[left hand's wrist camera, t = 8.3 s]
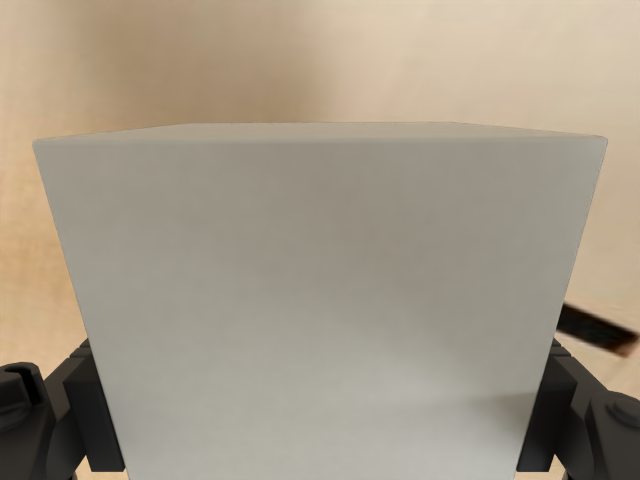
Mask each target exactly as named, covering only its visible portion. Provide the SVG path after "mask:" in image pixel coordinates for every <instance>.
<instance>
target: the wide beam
mask: <svg viewBox="0 0 640 480" xmlns="http://www.w3.org/2000/svg"><path fill="white" fill-rule="evenodd" d="M607 144H608V140H607V138H605V137H603V136H595V135H584V134H574V133H563V132H552V131H542V130H531V129H521V128H510V127H499V126H489V125H478V124H467V123H457V122H337V123H187V124H177V125H168V126H158V127H149V128H139V129H130V130H120V131H110V132H101V133H91V134H82V135H72V136H63V137H53V138H44V139H37V140H35V141H34V142H33V144H32V146H33V150H34V153H35V157H36V160H37V163H38V167H39V170H40V174H41V177H42V181H43V184H44V188H45V191H46V194H47V198H48V201H49V205H50V208H51V212H52V215H53V219H54V222H55V226H56V229H57V232H58V236H59V239H60V243H61V246H62V250H63V253H64V257H65V260H66V263H67V267H68V270H69V274H70V277H71V281H72V284H73V288H74V291H75V294H76V298H77V301H78V305H79V308H80V312H81V315H82V319H83V322H84V326H85V329H86V332H87V336H88V339H89V343H90V346H91V350H92V353H93V357H94V360H95V363H96V367H97V370H98V374H99V377H100V381H101V384H102V388H103V391H104V395H105V398H106V401H107V405H108V408H109V412H110V415H111V419H112V422H113V426H114V429H115V432H116V436H117V439H118V443H119V446H120V450H121V453H122V457H123V460H124V463H125V467H126V470H127V474H128V477H129V480H514V476H515V473H516V468H517V465H518V461H519V458H520V454H521V451H522V447H523V444H524V440H525V437H526V433H527V429H528V426H529V422H530V419H531V415H532V412H533V408H534V405H535V401H536V398H537V394H538V390H539V387H540V383H541V380H542V376H543V373H544V369H545V365H546V362H547V358H548V355H549V351H550V348H551V344H552V340H553V337H554V333H555V330H556V326H557V323H558V319H559V315H560V312H561V308H562V305H563V301H564V298H565V294H566V290H567V287H568V283H569V280H570V276H571V273H572V269H573V265H574V262H575V258H576V255H577V251H578V248H579V244H580V240H581V237H582V233H583V230H584V226H585V223H586V219H587V215H588V212H589V208H590V205H591V201H592V198H593V194H594V190H595V187H596V183H597V180H598V176H599V172H600V169H601V165H602V162H603V158H604V155H605V151H606V147H607Z"/></svg>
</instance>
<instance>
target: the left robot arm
mask: <svg viewBox="0 0 640 480" xmlns="http://www.w3.org/2000/svg"><path fill="white" fill-rule="evenodd" d="M554 454H555V455H556V456H557V458H558V459H559V460H560V462H561V463H562V465H563V466H564V468H565V472H564V475H563V478H562V480H640V401H639V400H638V399H636V398H633V397H631V396H628V395H625V394H623V393H619V392H613V391H608V390H607V389H606V388H605V387H604V386H603V385H602V384H601V383H600V382H599V381H598V380H597V379H596V378H595V377H594V376H593V375H592V374H591V373H590V372H589V371H588V370H587V369H586V368H585V367H584V366H583V365H582V364H581V363H580V362H579V361H577V360H576V359H575V358H574V357H571V354H570V353H569V352H568V351H567V350H566V349H565V348H564V347H561V344H560V343H559V342H558V341H557V340H556V339H555V338H554V337H553V340H552V344H551V348H550V351H549V355H548V358H547V362H546V365H545V369H544V373H543V376H542V380H541V383H540V387H539V390H538V394H537V398H536V401H535V405H534V408H533V412H532V415H531V419H530V422H529V426H528V429H527V433H526V437H525V440H524V444H523V447H522V451H521V454H520V458H519V461H518V465H517V468H516V470H517V472H549V469H550V466H551V463H552V460H553V457H554ZM85 455H86V456H87V459H88V462H89V465H90V468H91V471H92V472H123V471H124V469H125V463H124V460H123V457H122V453H121V450H120V446H119V443H118V439H117V436H116V432H115V429H114V426H113V422H112V419H111V415H110V412H109V408H108V405H107V401H106V398H105V395H104V391H103V388H102V384H101V381H100V377H99V374H98V370H97V367H96V363H95V360H94V357H93V353H92V350H91V346H90V343H89V339H88V338H87V339H86V340H85V341H84V342H83V343H82V344H81V345H80V347H79V348H77V349H76V350H75V351H74V352H73V353H72V354H71V355H70V357H69V358H67V359H65V360H64V361H63V362H62V363H61V364H60V365H59V366H58V367H57V368H56V369H55V370H54V371H53V372H52V373H51V374H50V375H49V376H48V377H47V378H46V379H45V380H44V381H43V379H42V376H41V373H40V370H39V367H38V366H37V365H35V364H33V363H29V362H18V363H12V364H7V365H4V366H1V367H0V480H78V479H77V475H76V472H75V470H76V469H77V467H78V466H79V464H80V463H81V461H82V460H83V458H84V457H85Z"/></svg>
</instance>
